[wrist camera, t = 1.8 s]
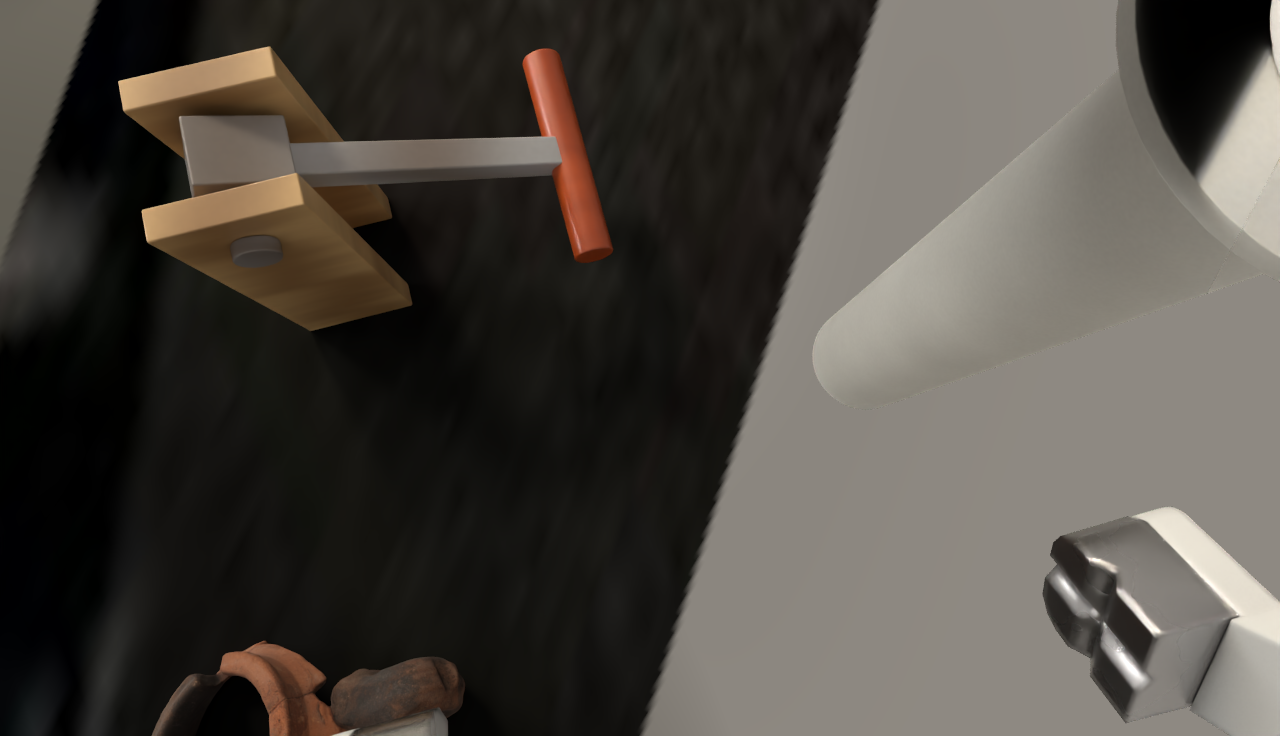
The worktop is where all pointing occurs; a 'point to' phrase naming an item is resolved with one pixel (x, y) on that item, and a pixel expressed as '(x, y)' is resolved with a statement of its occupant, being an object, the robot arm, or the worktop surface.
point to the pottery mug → (293, 683)
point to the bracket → (267, 200)
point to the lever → (413, 156)
